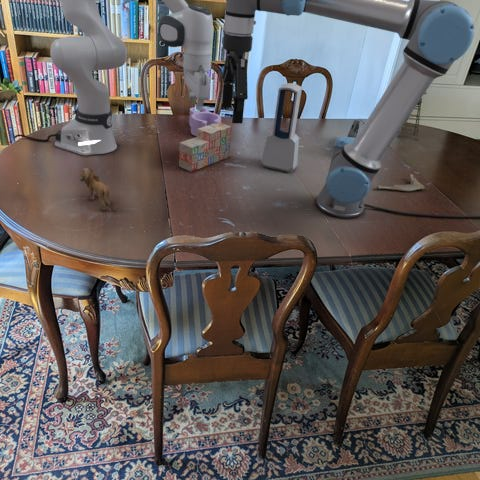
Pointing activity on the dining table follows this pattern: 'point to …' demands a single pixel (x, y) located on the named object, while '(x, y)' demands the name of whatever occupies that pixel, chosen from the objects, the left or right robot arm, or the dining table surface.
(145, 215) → the dining table surface
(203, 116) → the clip
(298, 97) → the electronic device
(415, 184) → the jawbone
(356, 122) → the handheld gaming console
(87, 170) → the lion figurine
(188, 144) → the stack of blocks
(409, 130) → the miniature windmill
